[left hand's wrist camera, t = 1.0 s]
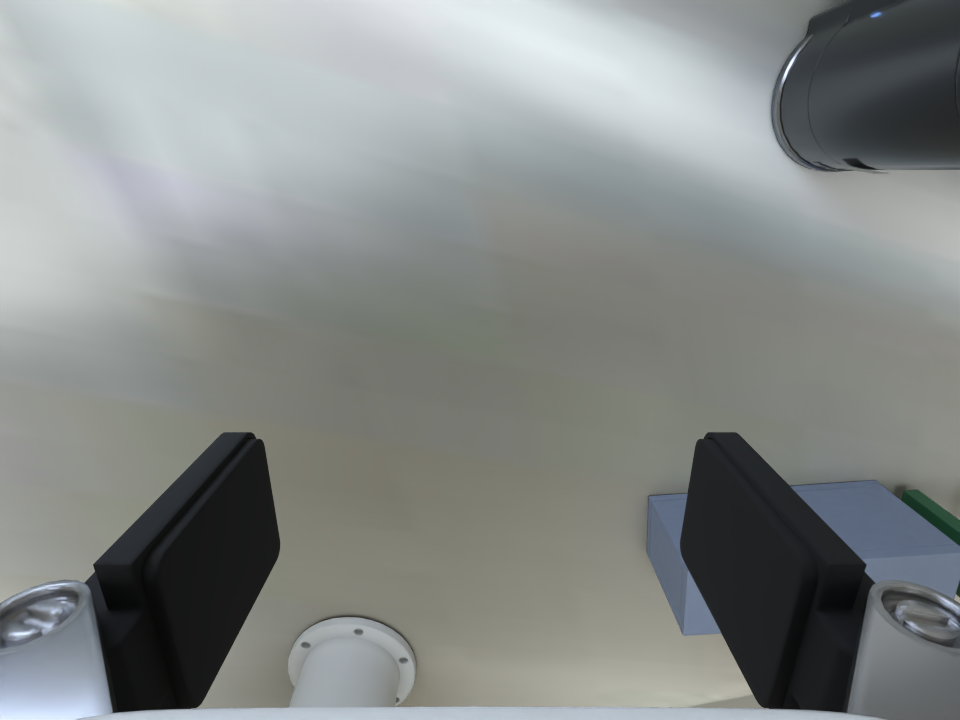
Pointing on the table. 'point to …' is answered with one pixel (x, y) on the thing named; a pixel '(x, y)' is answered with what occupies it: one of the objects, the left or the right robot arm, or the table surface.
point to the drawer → (934, 516)
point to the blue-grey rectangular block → (848, 512)
